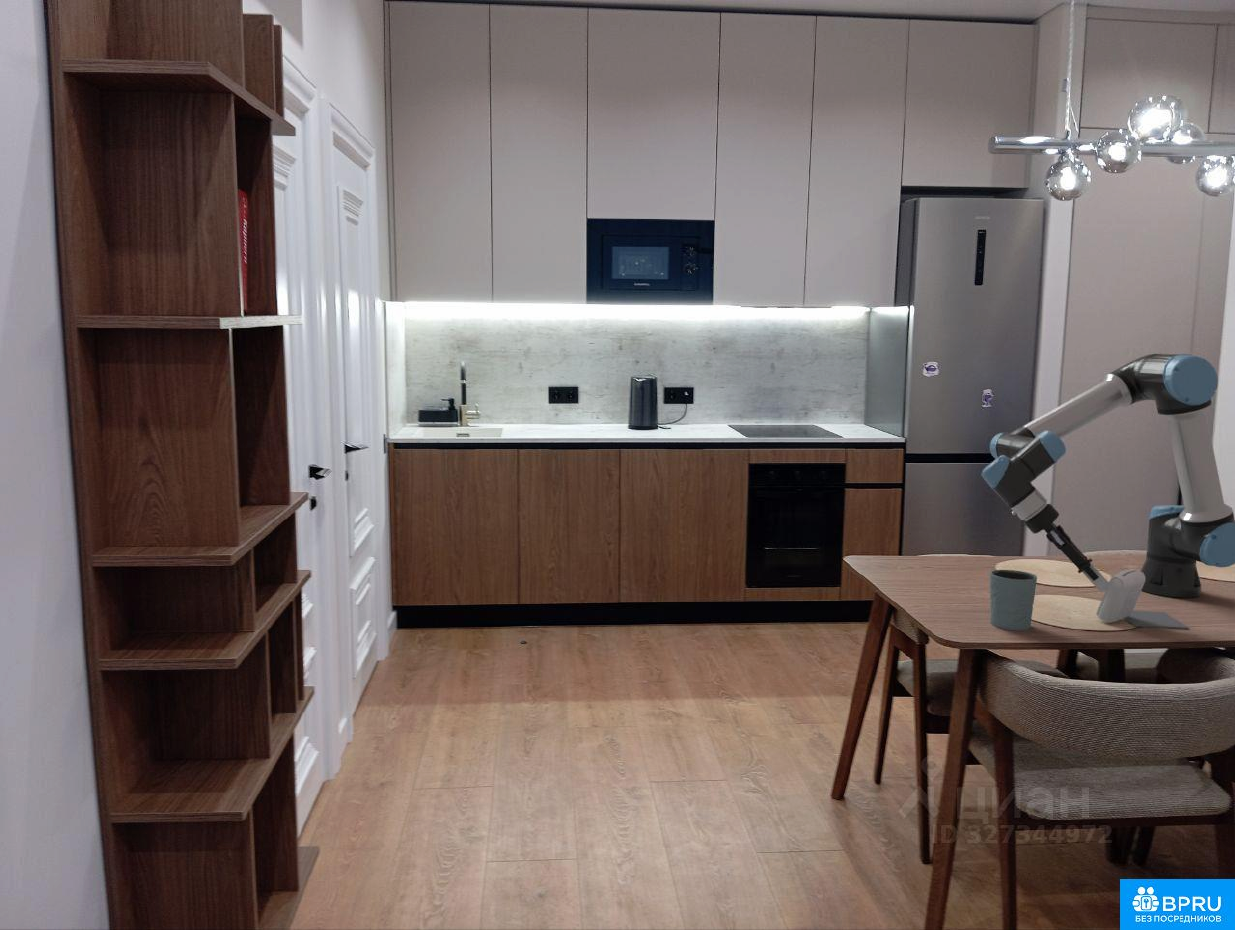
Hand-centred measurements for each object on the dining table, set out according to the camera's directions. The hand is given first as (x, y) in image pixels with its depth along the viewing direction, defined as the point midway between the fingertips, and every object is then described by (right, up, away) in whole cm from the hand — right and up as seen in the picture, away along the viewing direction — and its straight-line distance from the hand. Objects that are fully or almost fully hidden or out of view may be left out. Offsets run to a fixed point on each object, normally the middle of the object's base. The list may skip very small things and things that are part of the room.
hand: (1105, 588), depth 231 cm
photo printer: (+2, -7, +1) cm, 7 cm away
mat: (+11, -8, +2) cm, 14 cm away
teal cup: (-25, -8, -5) cm, 26 cm away
